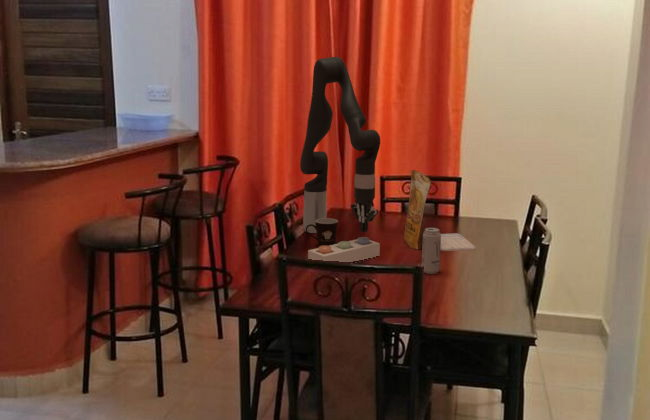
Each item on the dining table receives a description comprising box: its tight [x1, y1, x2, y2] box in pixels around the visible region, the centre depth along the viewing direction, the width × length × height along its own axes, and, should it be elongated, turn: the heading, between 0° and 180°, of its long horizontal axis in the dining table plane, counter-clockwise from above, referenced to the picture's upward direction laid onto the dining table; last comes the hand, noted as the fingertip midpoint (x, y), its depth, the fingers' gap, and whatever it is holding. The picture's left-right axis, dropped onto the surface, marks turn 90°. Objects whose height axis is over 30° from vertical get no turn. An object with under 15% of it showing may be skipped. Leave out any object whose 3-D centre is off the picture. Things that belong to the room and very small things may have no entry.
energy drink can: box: [421, 227, 442, 275], centre depth 231 cm, size 6×6×15 cm
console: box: [307, 239, 381, 262], centre depth 244 cm, size 9×26×5 cm, turn 128°
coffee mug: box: [305, 217, 339, 246], centre depth 261 cm, size 12×9×10 cm
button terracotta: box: [318, 245, 331, 254], centre depth 238 cm, size 4×4×3 cm
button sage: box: [337, 240, 351, 250], centre depth 244 cm, size 4×4×3 cm
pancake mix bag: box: [403, 169, 432, 250], centre depth 262 cm, size 7×19×28 cm, turn 7°
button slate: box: [357, 236, 370, 245], centre depth 249 cm, size 4×4×3 cm
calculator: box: [440, 233, 476, 252], centre depth 266 cm, size 13×20×2 cm, turn 8°
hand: (363, 231), depth 248 cm, fingers closed
